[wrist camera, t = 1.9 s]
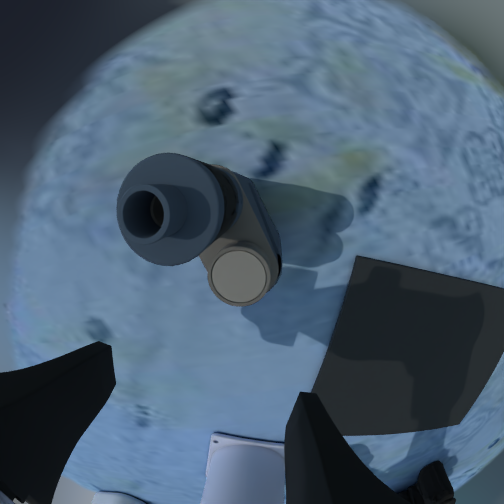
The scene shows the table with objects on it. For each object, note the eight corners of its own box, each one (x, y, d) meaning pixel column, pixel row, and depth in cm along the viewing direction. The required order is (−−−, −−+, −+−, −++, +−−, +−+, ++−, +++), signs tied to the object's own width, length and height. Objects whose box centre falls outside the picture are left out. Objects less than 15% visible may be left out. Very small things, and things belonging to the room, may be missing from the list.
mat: (457, 422, 19) (459, 424, 19) (294, 430, 20) (294, 433, 20) (524, 293, 15) (527, 295, 15) (356, 255, 16) (357, 256, 16)
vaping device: (248, 167, 16) (176, 113, 4) (286, 247, 16) (305, 376, 5) (209, 186, 16) (70, 189, 4) (247, 264, 17) (193, 407, 5)
